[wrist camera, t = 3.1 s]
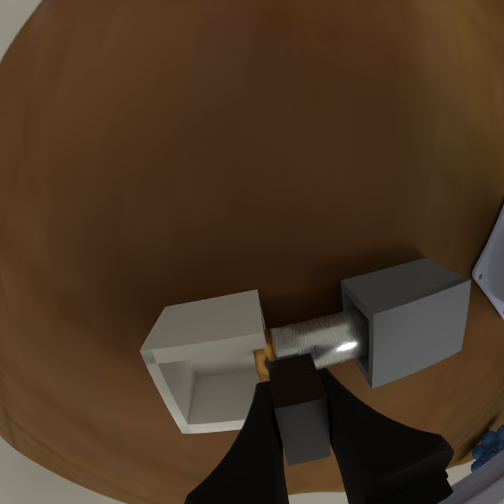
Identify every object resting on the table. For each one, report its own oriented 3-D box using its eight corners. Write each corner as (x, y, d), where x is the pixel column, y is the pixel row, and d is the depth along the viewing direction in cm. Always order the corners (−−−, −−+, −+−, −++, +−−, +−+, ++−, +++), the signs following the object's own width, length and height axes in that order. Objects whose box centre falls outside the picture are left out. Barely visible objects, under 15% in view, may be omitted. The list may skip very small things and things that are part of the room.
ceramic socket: (257, 289, 16) (263, 332, 11) (274, 369, 18) (283, 422, 13) (165, 306, 16) (139, 350, 11) (193, 381, 18) (182, 433, 13)
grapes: (492, 411, 22) (532, 458, 11) (510, 405, 23) (545, 445, 11) (449, 463, 25) (477, 509, 13) (470, 455, 25) (497, 495, 14)
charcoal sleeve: (425, 257, 16) (471, 279, 11) (423, 318, 17) (460, 350, 13) (340, 280, 16) (373, 314, 12) (345, 345, 17) (371, 388, 13)
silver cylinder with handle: (392, 279, 15) (472, 339, 8) (391, 334, 16) (454, 405, 9) (248, 314, 16) (252, 412, 8) (261, 368, 16) (272, 468, 9)
